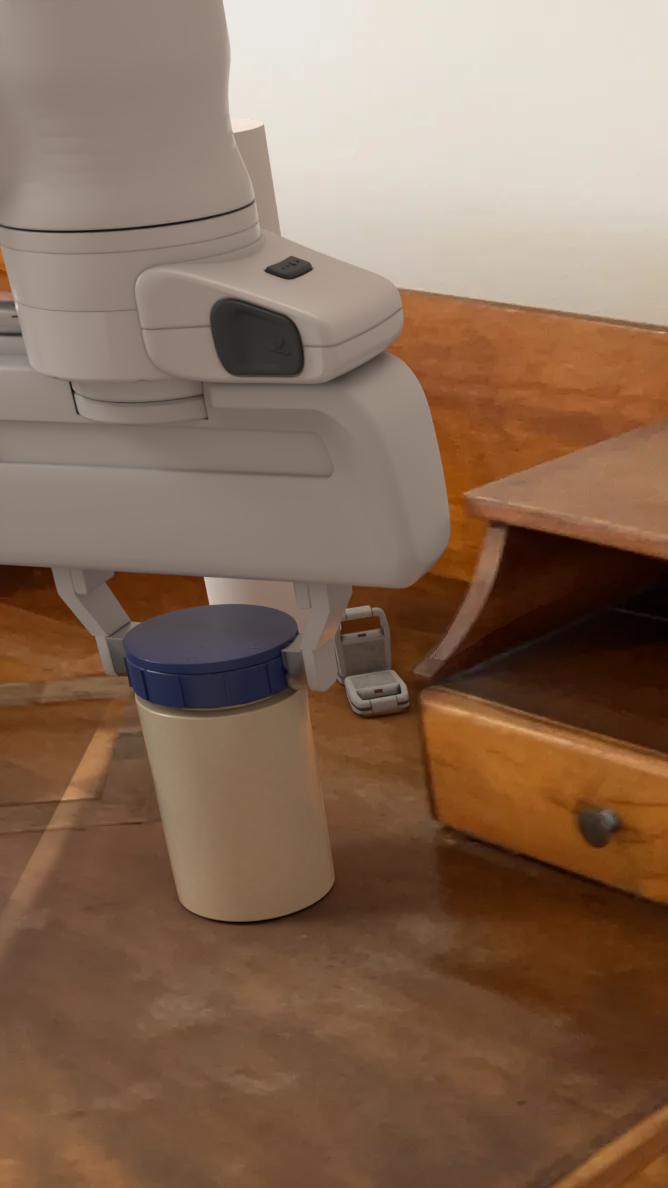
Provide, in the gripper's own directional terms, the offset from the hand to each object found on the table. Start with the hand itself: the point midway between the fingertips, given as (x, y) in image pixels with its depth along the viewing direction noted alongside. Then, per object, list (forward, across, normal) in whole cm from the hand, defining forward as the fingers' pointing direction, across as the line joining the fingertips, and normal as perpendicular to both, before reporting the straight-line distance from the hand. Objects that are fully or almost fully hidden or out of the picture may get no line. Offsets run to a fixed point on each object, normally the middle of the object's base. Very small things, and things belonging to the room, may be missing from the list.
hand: (223, 679), depth 69 cm
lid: (-2, 0, 0) cm, 2 cm away
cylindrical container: (+9, -13, +28) cm, 32 cm away
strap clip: (+9, -4, +22) cm, 24 cm away
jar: (+9, 0, 0) cm, 9 cm away
